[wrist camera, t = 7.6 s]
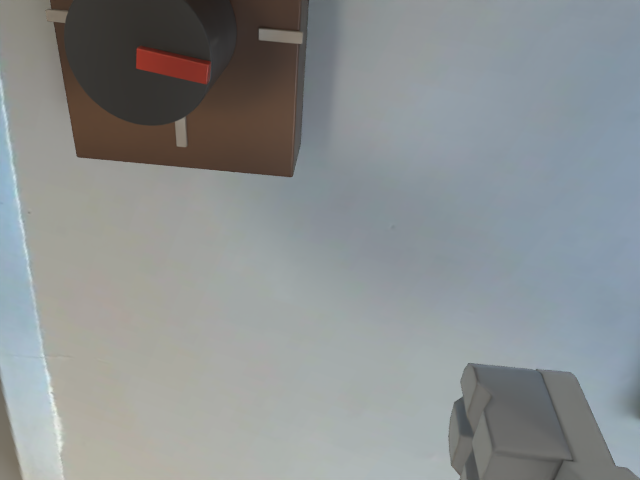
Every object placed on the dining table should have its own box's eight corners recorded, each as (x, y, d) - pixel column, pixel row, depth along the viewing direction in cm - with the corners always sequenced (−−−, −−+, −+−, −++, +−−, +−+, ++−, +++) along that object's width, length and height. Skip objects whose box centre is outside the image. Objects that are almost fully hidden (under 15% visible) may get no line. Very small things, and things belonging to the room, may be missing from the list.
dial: (111, 73, 19) (60, 112, 16) (112, -58, 17) (54, -43, 14) (229, 100, 19) (202, 144, 16) (245, -27, 17) (217, -4, 14)
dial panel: (63, -171, 18) (11, -179, 15) (320, -150, 18) (312, -154, 15) (105, 127, 24) (71, 159, 21) (302, 145, 23) (295, 180, 21)
